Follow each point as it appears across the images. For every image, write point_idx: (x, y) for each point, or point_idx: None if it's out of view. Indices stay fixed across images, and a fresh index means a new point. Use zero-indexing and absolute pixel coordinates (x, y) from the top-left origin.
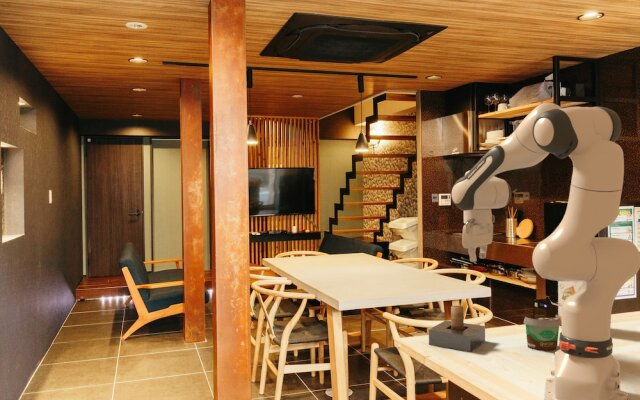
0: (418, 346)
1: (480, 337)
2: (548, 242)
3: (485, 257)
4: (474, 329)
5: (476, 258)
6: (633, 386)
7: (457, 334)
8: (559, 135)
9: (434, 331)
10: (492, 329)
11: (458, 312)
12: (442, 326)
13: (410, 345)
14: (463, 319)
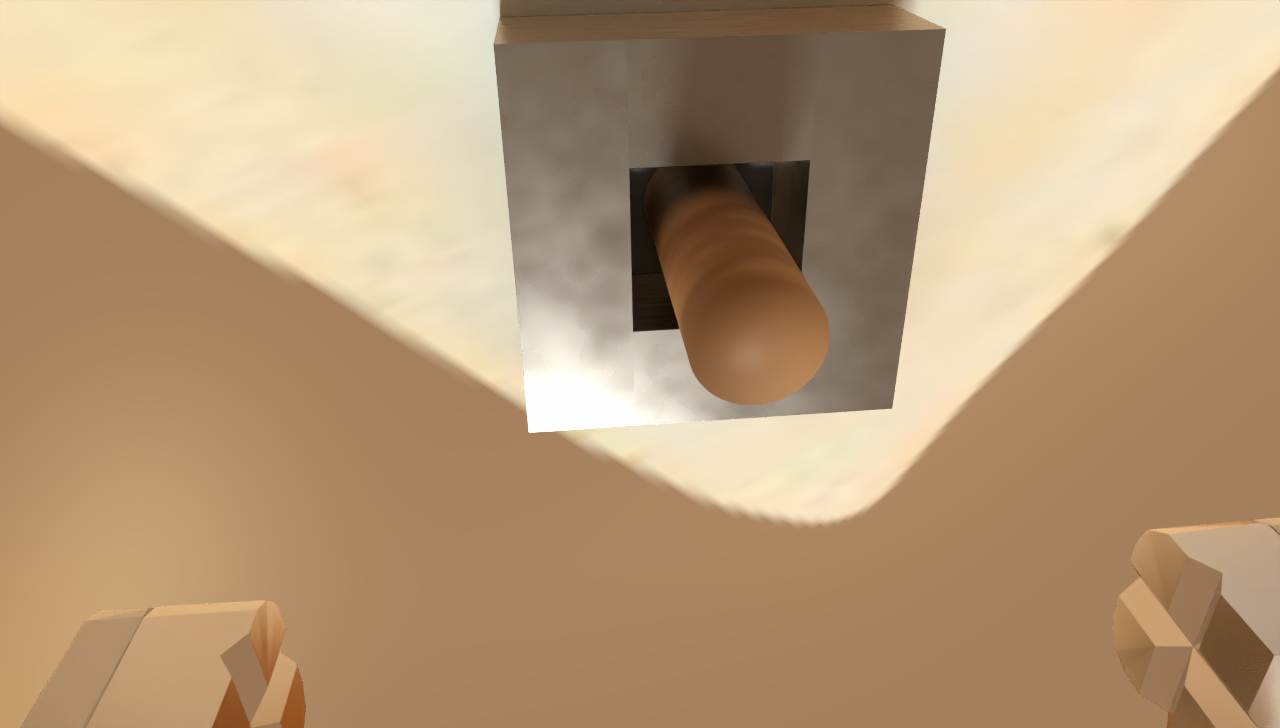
0: (925, 382)
1: (636, 24)
2: None
3: (129, 612)
4: (685, 89)
5: (1229, 579)
6: None
7: (926, 158)
8: None
9: (895, 359)
10: (67, 104)
11: (808, 285)
12: None
13: (926, 431)
14: (712, 228)
